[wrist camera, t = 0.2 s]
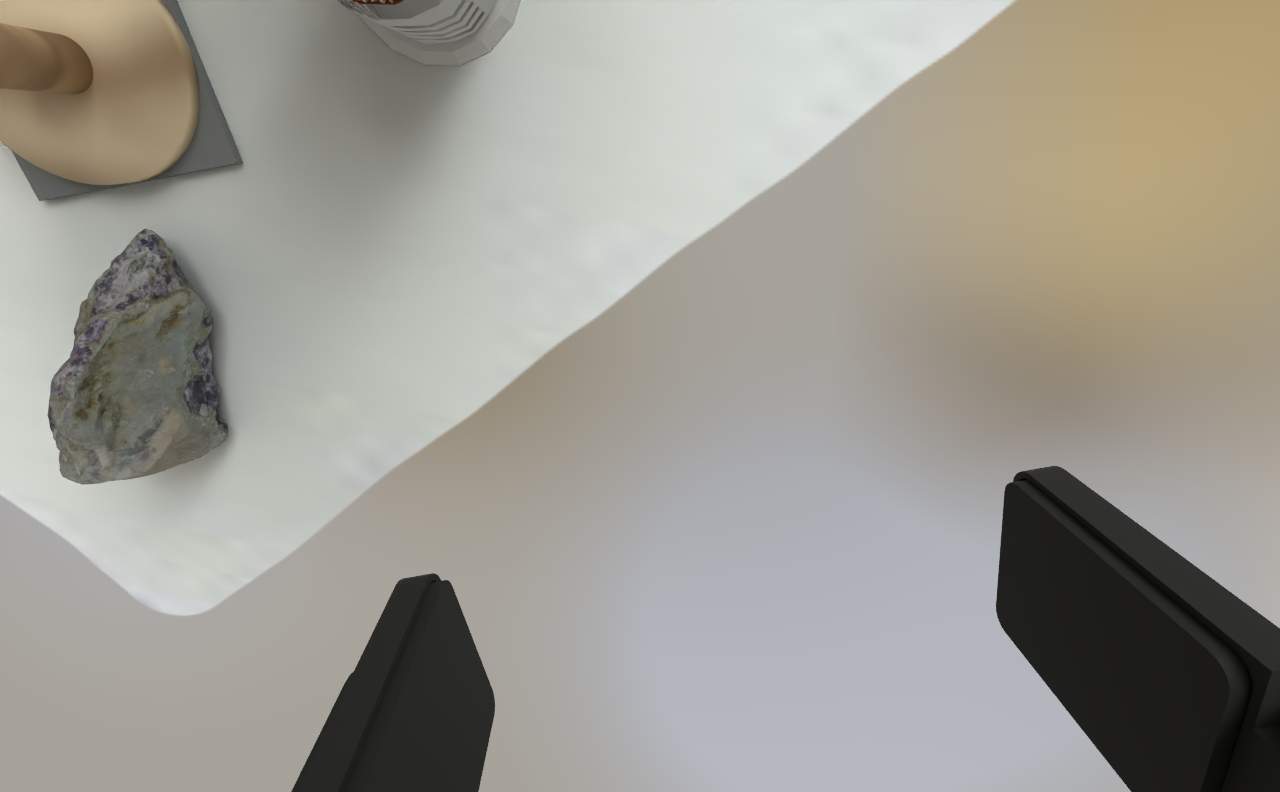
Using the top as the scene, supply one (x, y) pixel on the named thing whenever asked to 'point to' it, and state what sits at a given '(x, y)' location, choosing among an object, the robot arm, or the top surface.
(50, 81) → the lid
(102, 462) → the mineral rock
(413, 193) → the top surface
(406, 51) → the french press
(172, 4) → the mat
